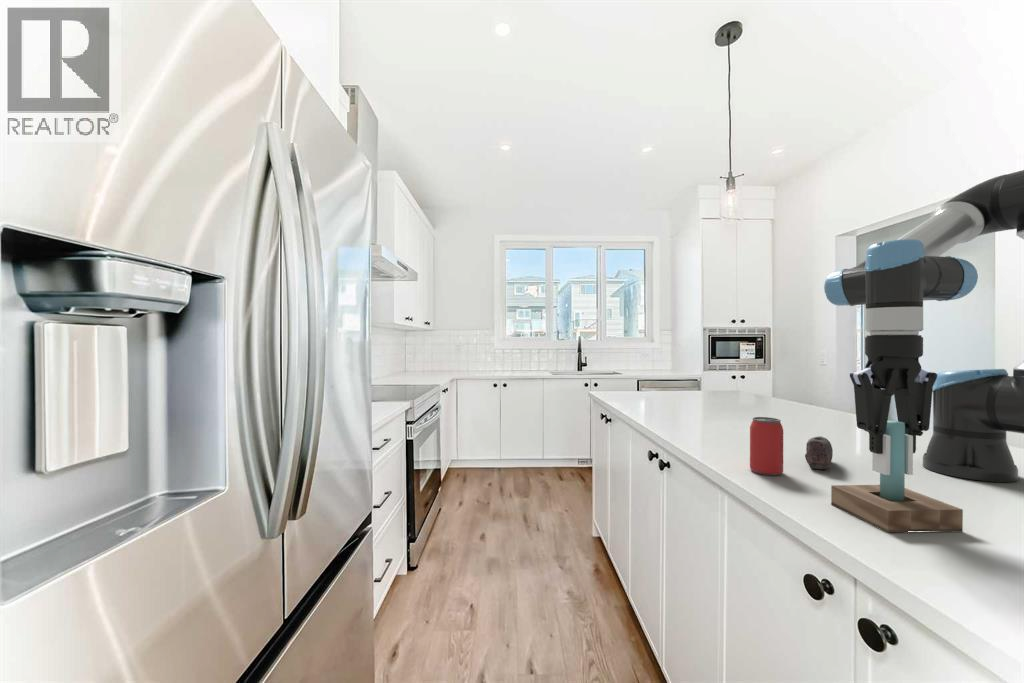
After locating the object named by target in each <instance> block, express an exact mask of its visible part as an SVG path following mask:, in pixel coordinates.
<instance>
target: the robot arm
mask: <svg viewBox="0 0 1024 683" xmlns="http://www.w3.org/2000/svg"><path fill="white" fill-rule="evenodd" d="M1009 230H1016V236H1017V237H1019V238H1021V239H1023V240H1024V169H1023V170H1018V171H1014V172H1011V173H1008V174H1002V175H998V176H995V177H992V178H989V179H987V180H985V181H982V182H980V183H978V184H976V185H973V186H972V187H970V188H968V189H966V190H964V191H962V192H960V193H959V194H957V195H955V196H954V197H952V198H950V199H949V200H947V201H946V202H943V203H942V204H941V205H939V206H938V207H937V208H935V209H934V210H933V211H932V212H931V214H930V216H929V218H928V219H926V220H925V221H923V222H922V223H920V224H919V225H918V226H916V227H914V228H913V229H911V230H909V231H908V232H907V233H905V234H904V235H902V236H900V237H899V238H898V239H892V240H885V241H880V242H875V243H873V244H872V245H870V246H869V247H868V248H867V249H866V254H865V260H864V261H862V262H860V263H859V264H857V265H855V266H853V267H852V268H842V269H840V270H836V271H833V272H831V273H830V274H828V276H827V277H826V279H825V281H824V284H823V288H824V289H823V290H824V294H825V296H826V299H827V300H828V302H830V303H831V304H833V305H835V306H839V307H840V306H850V307H854V306H863V305H865V309H864V311H865V313H864V314H865V315H864V316H865V318H864V321H865V322H864V324H865V325H864V326H865V327H864V329H865V330H864V331H866V332H867V333H868V332H869V335H866V336H865V337H864V354H865V356H866V357H867V362H866V364H865V366H864V368H863V369H862V370H860V371H850V373H849V378H850V380H851V383H852V385H853V391H854V392H853V393H854V405H855V406H854V407H855V418H856V427H857V428H858V429H860V430H862V431H865V432H868V436H869V437H868V442H869V444H868V445H869V446H868V448H869V451H870V453H872V460H871V461H872V468H871V469H872V471H874V472H876V473H879V474H880V473H882V474H884V475H890V439H891V436H889V435H885V433H886V427H887V421H888V420H889V413H890V408H891V402H892V396H894V402H895V408H896V417H897V421H899V422H904V423H905V475H908V476H913V474H914V473H913V472H914V467H913V465H914V454H916V452H917V436H918V437H921V436H923V434H924V432H927V431H930V423H931V410H932V425H933V426H932V436H931V438H930V440H929V441H928V442H929V443H928V445H927V449H926V452H924V453H923V455H922V466H923V467H924V468H925V469H927V470H930V471H932V472H935V473H939V474H943V475H946V476H950V477H955V478H962V479H967V480H968V479H969V480H975V481H981V482H994V483H1011V482H1012V483H1013V482H1016V481H1019V468H1018V467H1017V465H1016V464H1015V461H1014V458H1013V455H1012V452H1011V451H1010V447H1009V446H1008V442H1007V432H1011V433H1015V434H1016V433H1017V434H1023V435H1024V360H1022V361H1021V362H1020V363H1018V364H1017V365H1015V366H1014V367H1013V373H1012V376H1011V375H1009V373H1008V371H1007V369H1005V368H991V369H988V368H987V369H965V370H948V371H947V370H946V371H940V372H938V373H936V372H931V371H927V370H924V369H922V365H921V363H920V360H919V359H920V358H921V357H922V356H923V355H924V337H922V335H921V334H919V332H923V330H924V302H925V301H937V302H942V301H943V302H944V301H945V302H947V301H954V300H955V301H956V300H957V299H959V300H960V299H961V298H964V297H966V296H967V295H969V294H971V292H972V291H973V290H974V288H975V287H976V285H977V283H978V278H979V276H978V271H977V268H976V267H975V265H973V263H971V262H970V261H968V260H966V259H963V258H958V257H955V256H949V255H946V256H942V255H944V254H945V253H946V252H948V251H950V250H951V249H952V248H954V247H955V246H957V245H958V244H965V243H968V242H971V241H973V240H974V239H976V238H978V237H979V236H983V235H987V234H992V233H997V232H1003V231H1004V232H1005V231H1009Z"/></svg>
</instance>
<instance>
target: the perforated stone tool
mask: <svg viewBox="0 0 1024 683" xmlns="http://www.w3.org/2000/svg"><path fill="white" fill-rule="evenodd" d="M805 445H806V447H805V448H806V453H805V454H804V458H805V460H806V463H807V464H808V466H809V467H811V468H813V469H816V470H827V468H829V467H830V465H831V463H832V460H833V456H834V455H833V454H834V453H833V451H834V450H833V445H832V443H831V442H830V441H829V439H828V438H827V437H824V436H820V435H819V436H815V437H811V438H809V439H808V440H807V442H806V444H805Z"/></svg>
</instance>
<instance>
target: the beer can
mask: <svg viewBox="0 0 1024 683" xmlns="http://www.w3.org/2000/svg"><path fill="white" fill-rule="evenodd" d="M781 421H782V420H780V419H779V418H775V417H769V416H768V417H767V416H754V417H753V418H752V421H751V423H750V426H749V469H750V470H751V471H752V472H753V473H755V474H757V475H759V474H760V475H763V476H771V477H772V476H774V477H775V476H780V475H782V474H783V472H784V429H783V425H782V423H781Z"/></svg>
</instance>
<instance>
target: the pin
mask: <svg viewBox="0 0 1024 683" xmlns="http://www.w3.org/2000/svg"><path fill="white" fill-rule="evenodd" d="M885 435H889V436H891V439H890V475H884V474H882V473H879V485H880V497H881V498H883V499H885V500H888V501H890V502H904V499H905V482H906V481H905V475H906V474H905V423H904V422H899V421H898V420H897V421H896V420H889V419H888V421H887V427H886V433H885Z"/></svg>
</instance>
